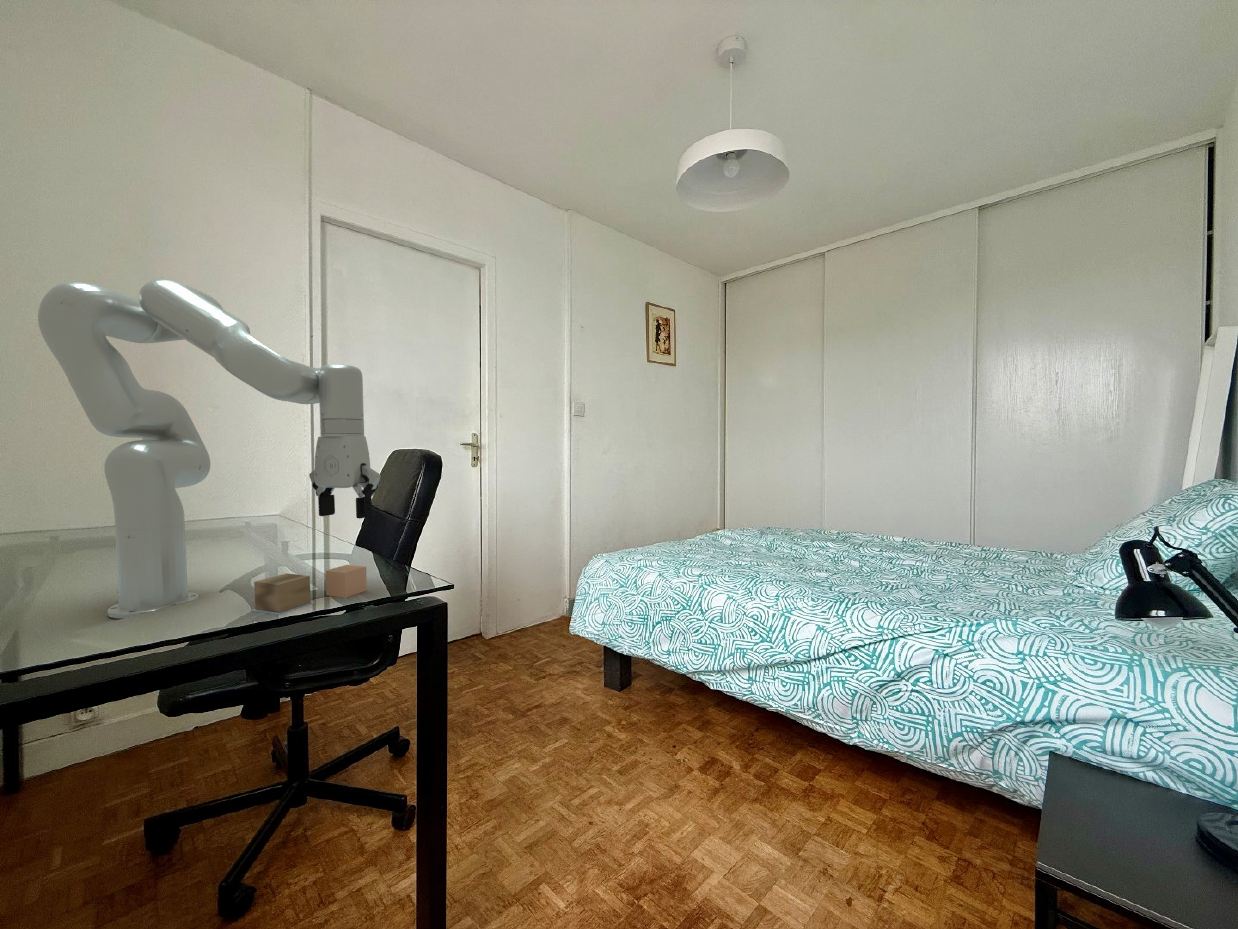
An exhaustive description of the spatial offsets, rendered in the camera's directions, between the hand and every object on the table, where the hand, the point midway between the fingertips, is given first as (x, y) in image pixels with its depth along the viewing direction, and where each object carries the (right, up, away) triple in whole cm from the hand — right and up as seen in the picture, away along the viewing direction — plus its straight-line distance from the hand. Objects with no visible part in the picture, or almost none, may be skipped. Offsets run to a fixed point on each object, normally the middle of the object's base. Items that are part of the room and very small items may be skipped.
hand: (345, 516), depth 99 cm
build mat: (-7, -17, -7) cm, 20 cm away
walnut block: (-7, -16, -7) cm, 19 cm away
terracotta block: (0, -16, +1) cm, 16 cm away
